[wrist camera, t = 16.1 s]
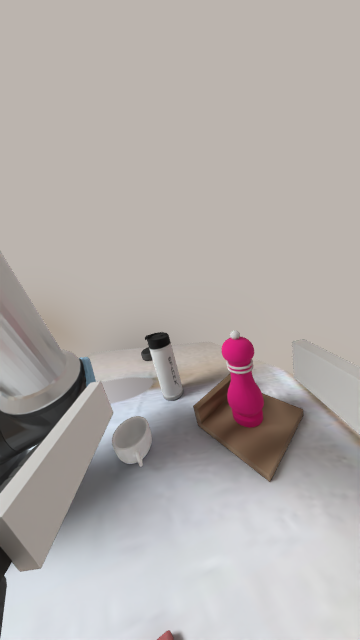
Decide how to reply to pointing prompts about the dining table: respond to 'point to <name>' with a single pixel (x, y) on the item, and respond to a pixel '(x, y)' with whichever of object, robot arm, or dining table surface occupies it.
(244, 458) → the spice board
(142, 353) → the smart speaker
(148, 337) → the travel mug
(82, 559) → the dining table surface
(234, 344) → the pepper mill
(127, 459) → the teacup
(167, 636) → the popsicle
